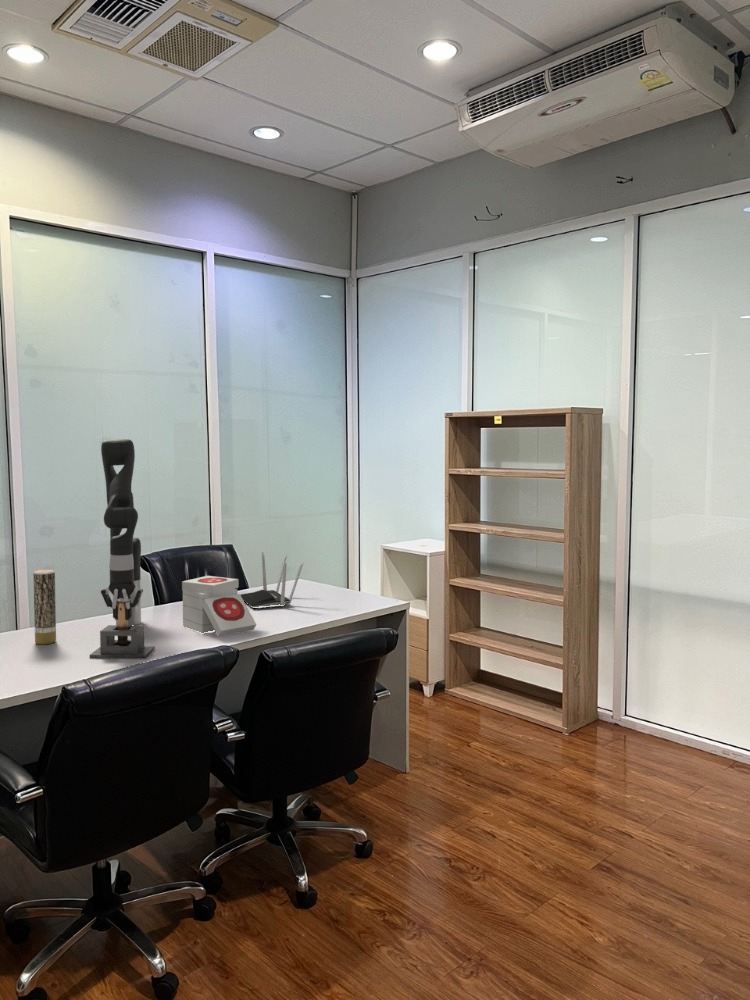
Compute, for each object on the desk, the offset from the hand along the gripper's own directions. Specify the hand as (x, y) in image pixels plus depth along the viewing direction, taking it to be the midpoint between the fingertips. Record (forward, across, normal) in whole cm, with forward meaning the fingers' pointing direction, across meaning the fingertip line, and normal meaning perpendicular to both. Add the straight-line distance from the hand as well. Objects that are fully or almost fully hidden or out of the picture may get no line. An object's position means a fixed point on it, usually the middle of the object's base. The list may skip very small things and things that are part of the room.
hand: (122, 619), depth 253 cm
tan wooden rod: (+8, 0, 0) cm, 8 cm away
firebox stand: (+12, 0, 0) cm, 12 cm away
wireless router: (+12, -38, -82) cm, 91 cm away
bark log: (+12, +31, -13) cm, 36 cm away
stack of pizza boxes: (+12, -25, -33) cm, 43 cm away
